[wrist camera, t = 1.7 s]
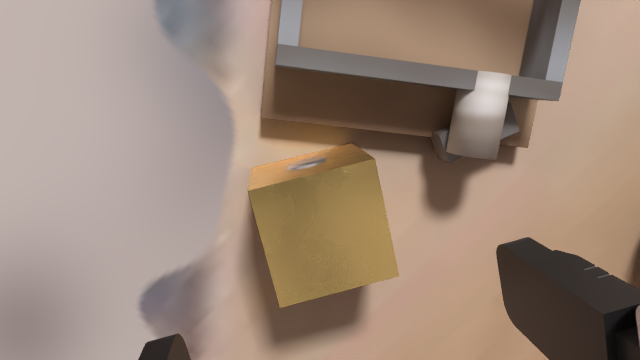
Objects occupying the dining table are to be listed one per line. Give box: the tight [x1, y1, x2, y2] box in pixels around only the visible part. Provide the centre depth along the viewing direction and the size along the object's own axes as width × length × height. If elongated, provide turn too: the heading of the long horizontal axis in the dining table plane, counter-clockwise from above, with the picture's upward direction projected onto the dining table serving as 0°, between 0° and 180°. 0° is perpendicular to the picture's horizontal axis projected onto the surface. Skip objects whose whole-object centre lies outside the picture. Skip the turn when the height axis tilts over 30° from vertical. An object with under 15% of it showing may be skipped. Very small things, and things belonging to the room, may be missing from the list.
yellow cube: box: [248, 143, 399, 308], centre depth 20 cm, size 5×5×5 cm
